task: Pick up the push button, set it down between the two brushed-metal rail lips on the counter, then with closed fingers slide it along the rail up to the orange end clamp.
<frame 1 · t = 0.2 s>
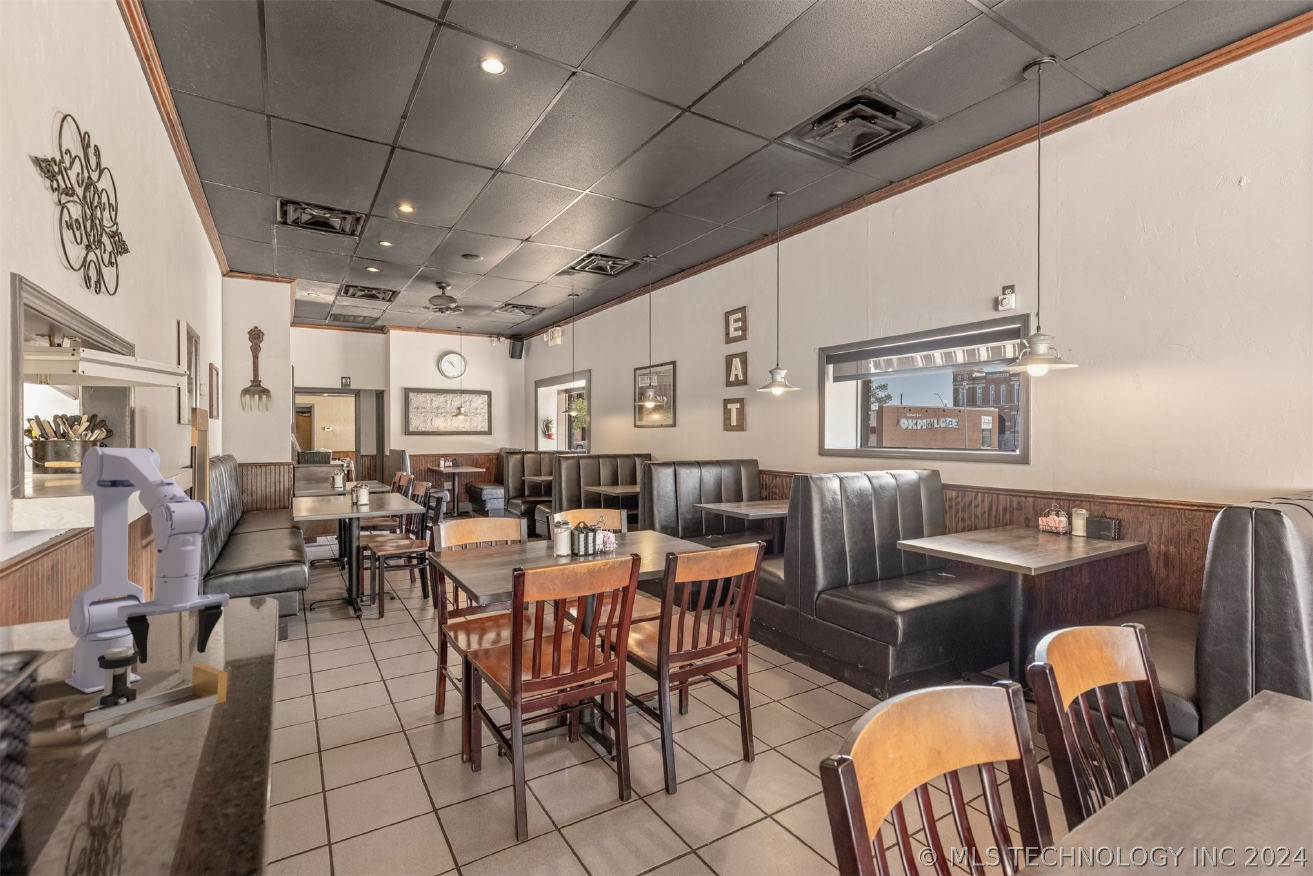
hand: (172, 656, 100), 10 cm above the countertop, fingers open, 7 cm apart
rail: (153, 713, 101), on the countertop
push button: (111, 711, 102), on the countertop
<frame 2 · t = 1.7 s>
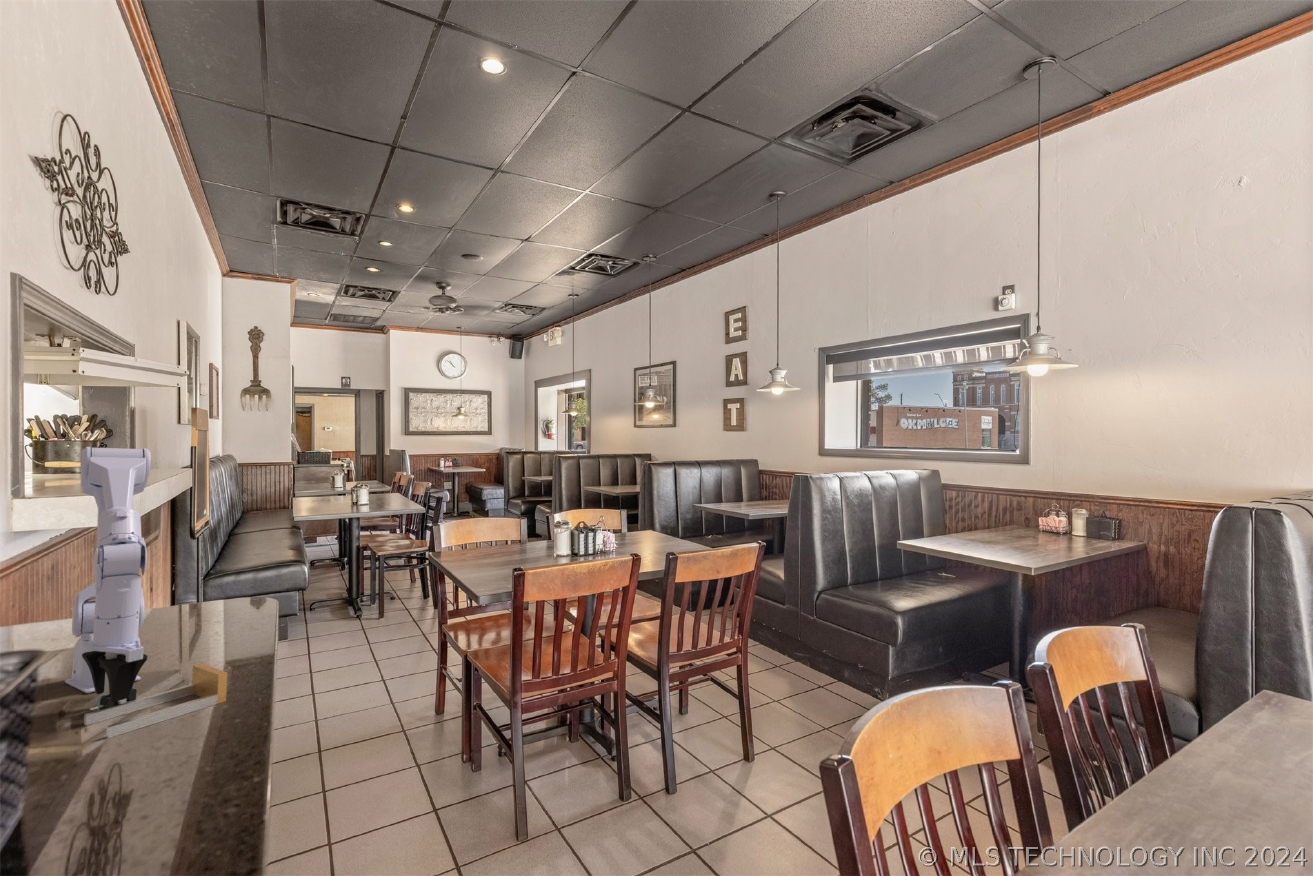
hand: (112, 695, 102), 2 cm above the countertop, fingers closed on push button, 5 cm apart
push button: (111, 711, 102), on the countertop, touching gripper
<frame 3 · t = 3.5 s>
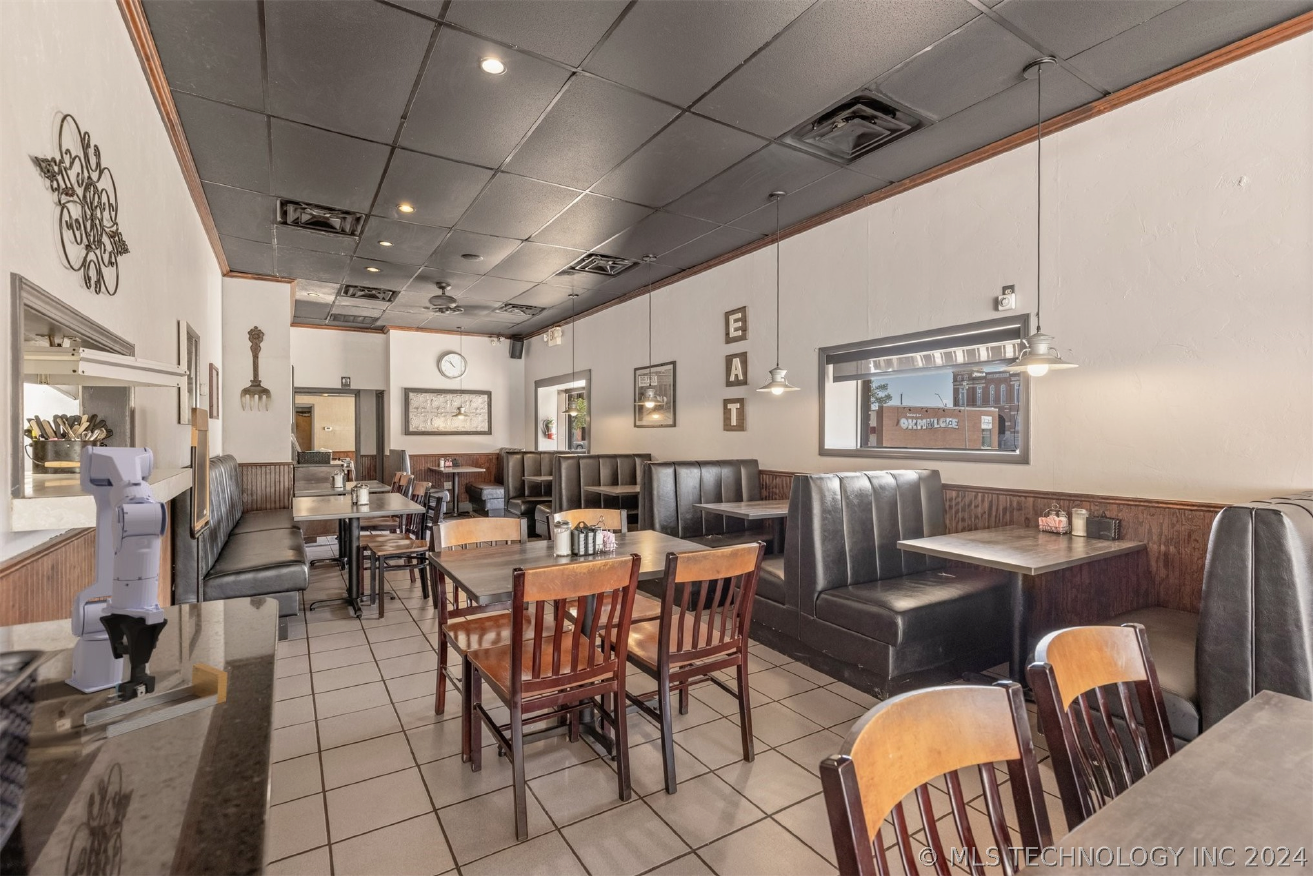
hand: (131, 661, 98), 10 cm above the countertop, fingers closed on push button, 5 cm apart
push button: (129, 699, 98), point 4 cm above the countertop, touching gripper
when the fingers open (4 cm above the countertop, at t = 5.1 s): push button stays where it is, on the countertop.
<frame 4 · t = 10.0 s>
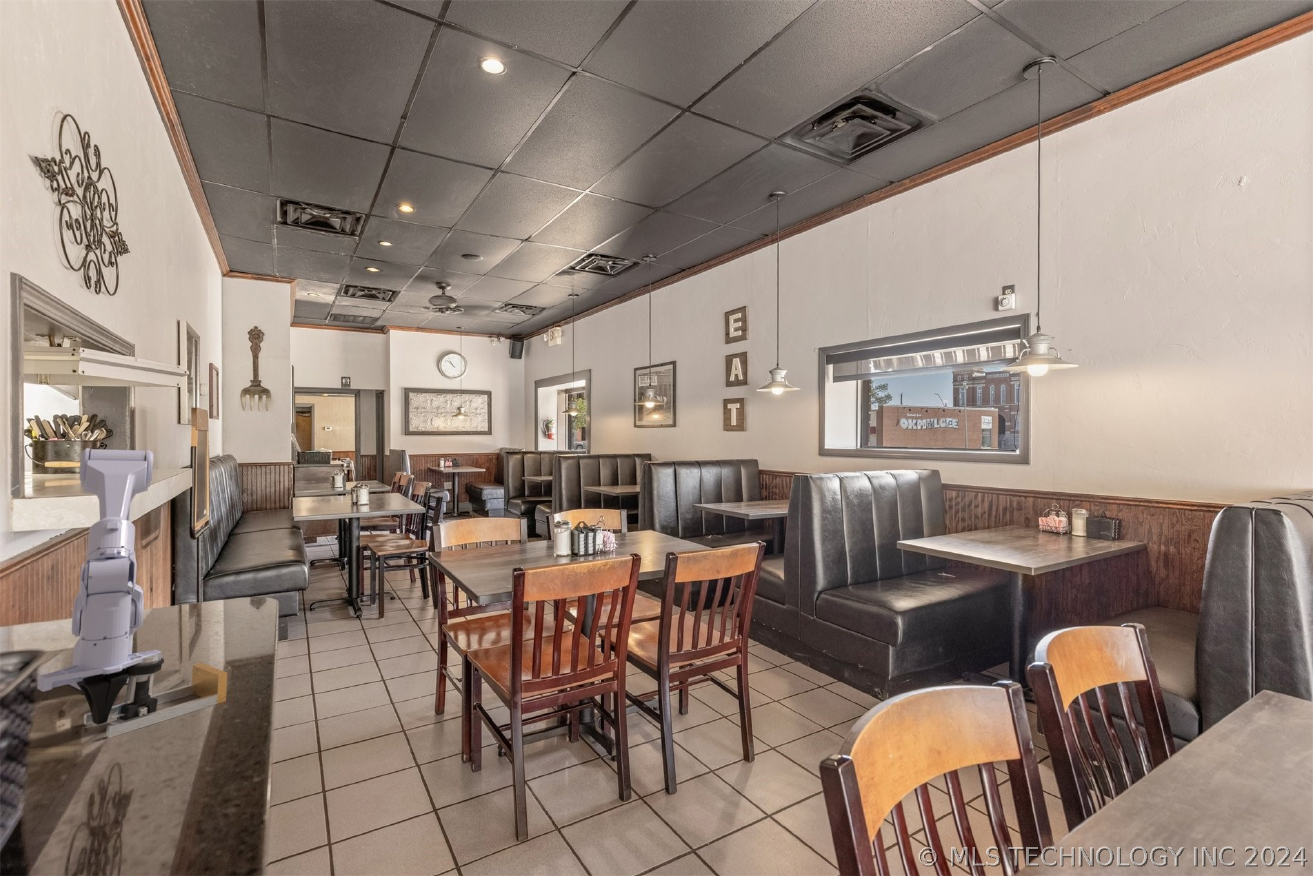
hand: (99, 722, 95), 1 cm above the countertop, fingers closed
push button: (131, 721, 98), on the countertop, touching gripper
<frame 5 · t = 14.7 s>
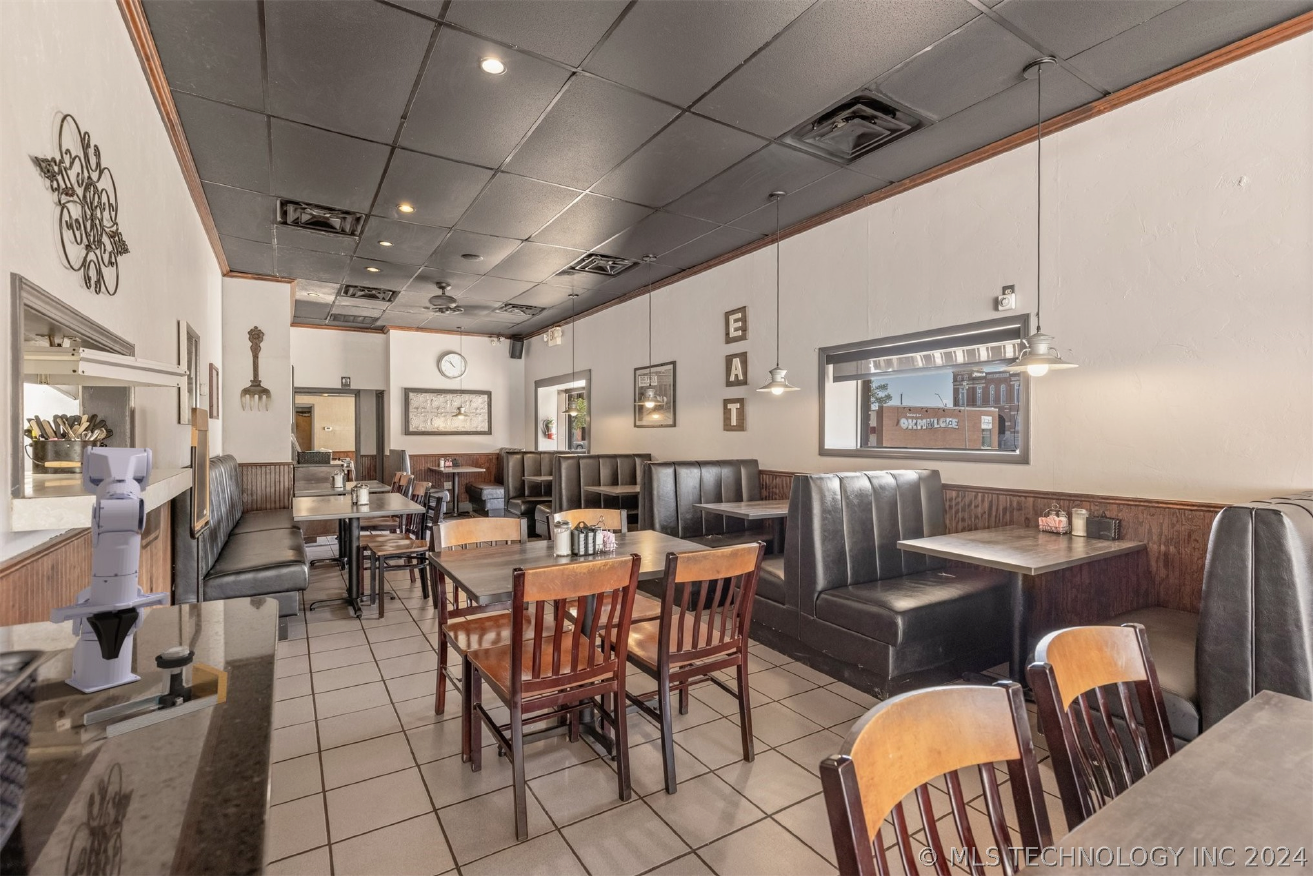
hand: (110, 658, 97), 10 cm above the countertop, fingers closed
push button: (168, 710, 103), on the countertop
at the end: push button 0.9 cm from the target spot, on the countertop; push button tilted 0°; the gripper is holding nothing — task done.
